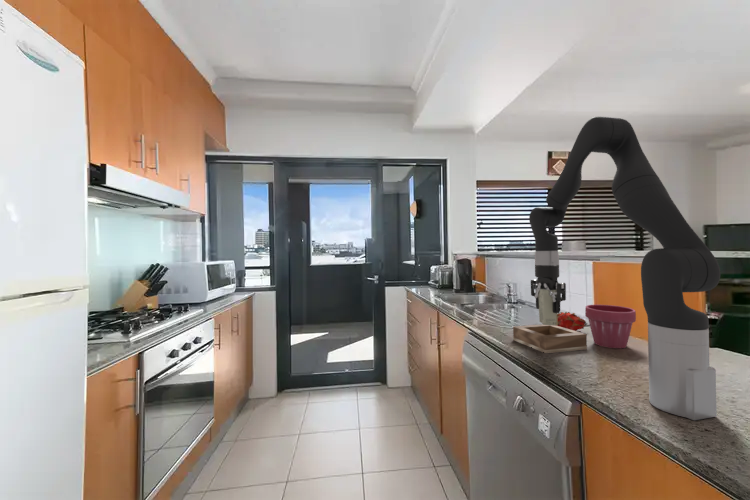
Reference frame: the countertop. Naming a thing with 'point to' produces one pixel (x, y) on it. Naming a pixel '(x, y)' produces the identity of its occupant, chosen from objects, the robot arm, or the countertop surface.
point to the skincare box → (546, 308)
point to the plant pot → (610, 324)
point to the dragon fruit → (570, 321)
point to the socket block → (550, 338)
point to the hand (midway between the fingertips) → (547, 310)
